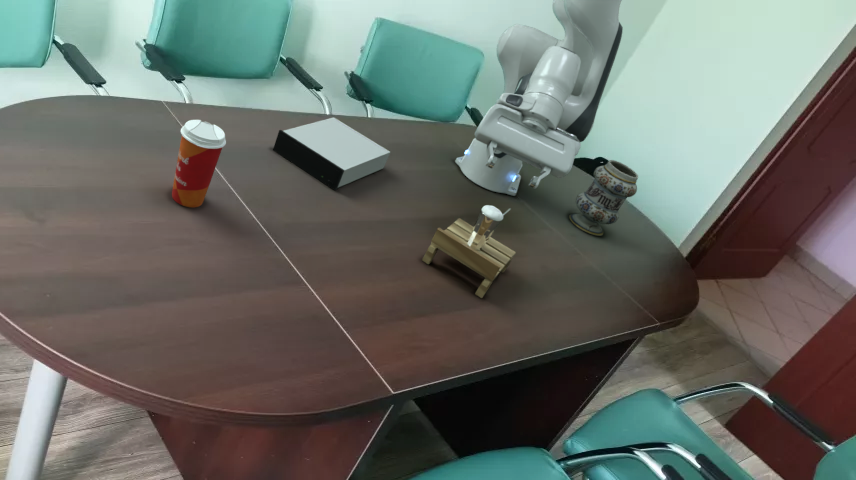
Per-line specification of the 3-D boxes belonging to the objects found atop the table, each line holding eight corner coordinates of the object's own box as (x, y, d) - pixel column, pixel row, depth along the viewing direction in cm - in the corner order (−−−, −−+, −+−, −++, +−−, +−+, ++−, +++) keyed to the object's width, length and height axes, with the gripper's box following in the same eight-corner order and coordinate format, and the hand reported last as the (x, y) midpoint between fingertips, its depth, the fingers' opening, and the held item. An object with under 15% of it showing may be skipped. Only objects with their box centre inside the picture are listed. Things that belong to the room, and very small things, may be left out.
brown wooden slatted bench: (450, 235, 147) (466, 205, 143) (505, 269, 144) (523, 239, 140) (420, 261, 133) (437, 229, 129) (480, 299, 130) (500, 267, 126)
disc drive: (272, 149, 149) (278, 129, 146) (326, 133, 167) (333, 115, 164) (334, 190, 144) (342, 170, 141) (383, 169, 162) (391, 151, 159)
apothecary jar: (614, 238, 181) (654, 182, 171) (587, 238, 174) (627, 180, 164) (584, 212, 188) (620, 157, 179) (557, 211, 181) (593, 153, 172)
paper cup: (169, 182, 123) (185, 113, 115) (210, 194, 125) (229, 127, 117) (162, 203, 117) (179, 132, 109) (206, 215, 119) (225, 146, 111)
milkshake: (490, 255, 135) (514, 214, 130) (467, 250, 133) (490, 208, 128) (484, 242, 139) (506, 202, 133) (461, 237, 137) (483, 196, 132)
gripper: (577, 145, 138) (553, 203, 136) (487, 103, 139) (461, 160, 136) (590, 133, 132) (565, 193, 129) (495, 89, 133) (468, 148, 130)
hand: (511, 176), depth 133 cm, fingers open, 8 cm apart
